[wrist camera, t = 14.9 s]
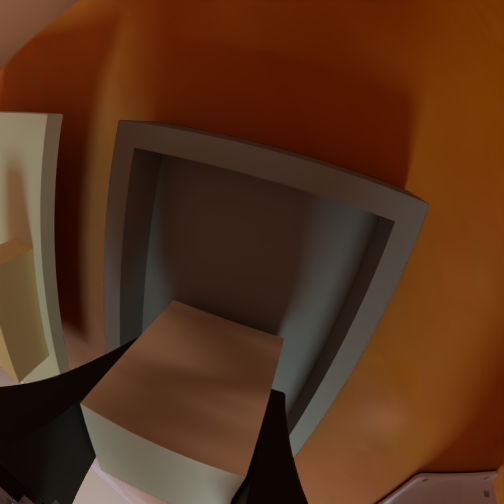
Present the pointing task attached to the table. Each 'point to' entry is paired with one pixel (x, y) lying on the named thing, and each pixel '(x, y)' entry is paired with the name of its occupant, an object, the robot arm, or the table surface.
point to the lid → (29, 247)
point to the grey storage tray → (255, 250)
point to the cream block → (184, 406)
